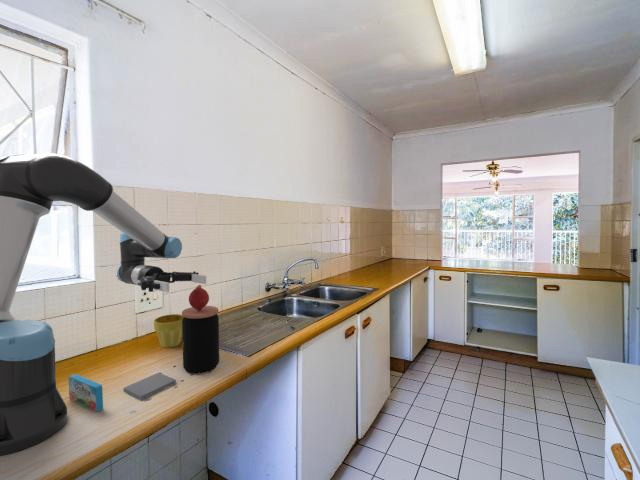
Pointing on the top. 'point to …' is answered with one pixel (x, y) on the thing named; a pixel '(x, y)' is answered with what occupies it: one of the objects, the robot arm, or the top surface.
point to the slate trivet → (149, 386)
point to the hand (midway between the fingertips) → (187, 283)
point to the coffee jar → (200, 339)
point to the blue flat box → (86, 392)
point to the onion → (198, 298)
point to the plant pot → (169, 330)
